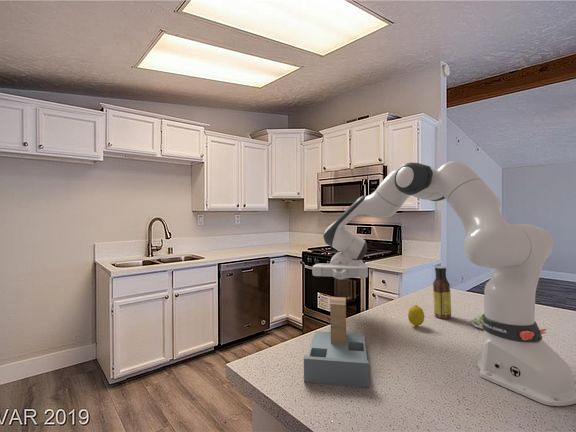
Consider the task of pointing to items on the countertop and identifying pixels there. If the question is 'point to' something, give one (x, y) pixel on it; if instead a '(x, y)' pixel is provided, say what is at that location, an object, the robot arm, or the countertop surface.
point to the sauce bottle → (441, 294)
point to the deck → (337, 361)
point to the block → (338, 320)
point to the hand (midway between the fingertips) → (339, 274)
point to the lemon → (416, 315)
